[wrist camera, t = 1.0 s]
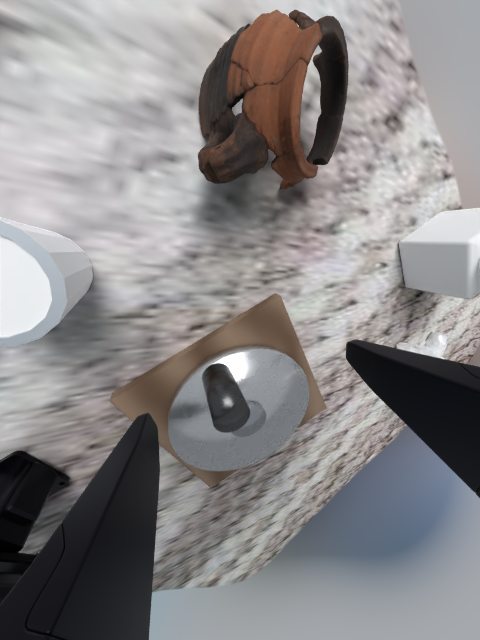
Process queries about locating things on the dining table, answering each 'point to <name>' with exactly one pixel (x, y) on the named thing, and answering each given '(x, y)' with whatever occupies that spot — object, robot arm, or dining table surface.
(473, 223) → the medicine bottle
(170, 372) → the walnut board
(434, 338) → the sitting furry creature
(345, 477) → the dining table surface
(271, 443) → the handwheel
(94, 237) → the dining table surface
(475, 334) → the dining table surface
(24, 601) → the robot arm
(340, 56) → the pottery mug
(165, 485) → the dining table surface
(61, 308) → the shot glass
